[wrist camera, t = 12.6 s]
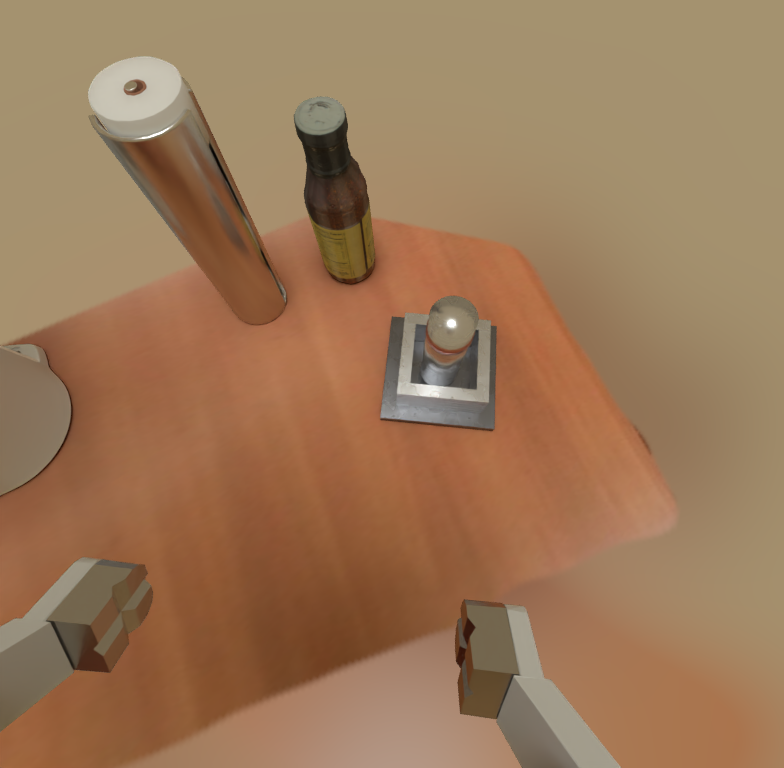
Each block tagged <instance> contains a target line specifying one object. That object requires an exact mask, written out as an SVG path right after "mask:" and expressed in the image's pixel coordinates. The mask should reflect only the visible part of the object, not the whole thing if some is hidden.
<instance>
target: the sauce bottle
mask: <svg viewBox="0 0 784 768" xmlns="http://www.w3.org/2000/svg"><path fill="white" fill-rule="evenodd" d="M294 122H295V127H296V131H297V135H298V137H299V139H300V140H301V142H302V144H303V148H304V151H305V155H306V163H307V172H306V184H305V189H304V199H305V204H306V208H307V211H308V214H309V217H310V220H311V223H312V226H313V230H314V233H315V236H316V239H317V242H318V246H319V249H320V252H321V255H322V258H323V262H324V264H325V266H326V268H327V269H328V271H329V273H330V274H331V276H332V277H333V278H335V279H337V280H339V281H341V282H344V283H348V284H353V283H356V282H359V281H361V280H363V279H365V278H367V277H368V276H369V275H370V274H371V272H372V270H373V266H374V261H375V249H374V240H373V232H372V223H371V213H370V204H369V197H368V194H367V185H366V180H365V178H364V176H363V174H362V173H361V171H360V168H359V165H358V163H357V162H356V161H355V160H354V159H353V158H352V156H351V155H350V151H349V148H348V143H347V136H346V134H347V129H348V123H347V118H346V113H345V111H344V108H343V106H342V105H341V104H340V103H339V102H338V101H337V100H335V99H333V98H329V97H316V98H311V99H308V100H306V101H303V102H302V103H301V104H300V105H299V106H298V108H297V109H296V112H295V114H294Z"/></svg>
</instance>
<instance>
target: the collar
mask: <svg viewBox="0 0 784 768" xmlns="http://www.w3.org/2000/svg"><path fill="white" fill-rule="evenodd" d="M428 319H429V315H425V314H414V313H405V318H401V317H392V321H391V330H390V338H389V347H388V356H387V364H386V373H385V382H384V390H383V399H382V408H381V416H380V419H381V420H388V421H398V422H408V423H418V424H428V425H438V426H447V427H457V428H467V429H477V430H487V431H493V430H494V424H495V375H496V327H497V326H491V321H490V320H480V319H479V320H478V325H477V328H476V330H475V335H474V338H473V340H472V342H471V344H470V346H469V347H468V349H467V351H466V354H465V356H464V358H463V361H462V363H461V366H460V368H459V370H458V373H457V375H456V377H455V379H454V381H453V382H452V383H451V384H449V385H447V386H445V387H444V386H434V385H429V384H428V383H426V382H425V381H424V379H423V378H422V375H421V371H420V369H421V362H422V356H423V350H424V344H425V338H426V335H425V332H426V325H427V321H428Z"/></svg>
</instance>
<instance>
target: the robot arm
mask: <svg viewBox="0 0 784 768" xmlns="http://www.w3.org/2000/svg"><path fill="white" fill-rule="evenodd" d="M70 418H71V403H70V398H69V394H68V391H67V389H66V387H65V385H64V384H63V382H62V381H61V380H60V379H59V378H58V377H57V376H56V375H55V374H54V373H53V372H52V371H51V369H50V368H49V366H48V361H47V357H46V354H45V352H44V350H43V349H42V348H41V347H38V346H36V345H33V344H20V345H8V346H0V496H1V495H2V494H4V493H7V492H9V491H11V490H13V489H15V488H17V487H19V486H21V485H23V484H24V483H26V482H27V481H29V480H30V479H32V478H33V477H34V476H36V475H37V474H38V473H39V472H40V471H41V470H42V469H43V468H44V467H45V466H46V465H47V464H48V463H49V462H50V461H51V460H52V458H53V457H54V456H55V454H56V453H57V451H58V450H59V448H60V446H61V445H62V443H63V441H64V439H65V436H66V434H67V431H68V428H69V424H70ZM147 574H148V573H147V570H146V567H145V565H143V564H135V563H127V562H119V561H111V560H104V559H96V558H87V557H82V558H81V559H79V560H77V561H76V562H74V563H73V564H72V565H71V566H70V567H69V568H68V570H67V571H66V572H65V573H64V574H63V575H62V576H61V577H60V578H59V579H58V580H57V581H56V582H55V584H54V585H53V586H52V587H51V588H50V589H49V590H48V591H47V592H46V593H45V594H44V595H43V596H42V597H41V599H40V600H39V601H38V602H37V603H36V604H35V605H34V606H33V607H32V608H31V609H30V610H29V611H28V613H27V614H26V615H25V616H24V617H23V618H15V619H13V620H11V621H10V622H8V623H6V624H4V625H2V626H1V627H0V732H1V731H2V730H3V729H4V728H6V727H7V726H8V725H9V724H11V723H12V722H13V721H14V720H16V719H17V718H18V717H19V716H21V715H22V714H23V713H24V712H25V711H27V710H28V709H29V708H30V707H32V706H33V705H34V704H35V703H37V702H38V701H39V700H40V699H42V698H43V697H44V696H45V695H47V694H48V693H49V692H50V691H51V690H53V689H54V688H55V687H56V686H58V685H59V684H60V683H61V682H63V681H64V680H65V679H66V678H68V677H69V676H70V675H71V674H73V673H74V670H83V671H95V672H106V673H110V672H111V671H112V669H113V668H114V666H115V664H116V663H117V661H118V660H119V658H120V657H121V655H122V654H123V652H124V650H125V649H126V647H127V646H128V644H129V633H130V632H132V631H133V630H135V629H136V628H138V627H139V626H140V625H141V624H142V622H143V621H144V619H145V617H146V616H147V614H148V612H149V609H150V606H151V603H152V598H153V591H152V587H151V585H150V584H149V583H148V582H147V581H146V580H144V578H145V577H146V575H147ZM455 652H456V662H457V664H458V665H459V667H460V668H461V670H460V675H459V679H458V693H459V705H460V714H464V715H471V716H479V717H485V718H491V719H497V724H498V725H499V727H500V729H501V731H502V733H503V734H504V736H505V738H506V740H507V742H508V743H509V745H510V747H511V749H512V751H513V752H514V754H515V756H516V758H517V759H518V761H519V763H520V765H521V767H522V768H621V767H620V766H619V764H618V763H617V762H616V761H615V760H614V758H613V757H612V756H611V754H610V753H609V752H608V751H607V749H606V748H605V747H604V746H603V744H602V743H601V742H600V741H599V739H598V738H597V737H596V736H595V734H594V733H593V732H592V730H591V729H590V728H589V727H588V726H587V724H586V723H585V722H584V720H583V719H582V718H581V717H580V715H579V714H578V713H577V712H576V710H575V709H574V708H573V707H572V705H571V704H570V703H569V702H568V700H567V699H566V698H565V697H564V695H563V694H562V693H561V692H560V690H559V689H558V688H557V686H556V685H555V684H554V683H553V682H552V680H551V679H545V678H544V674H543V671H542V667H541V663H540V660H539V655H538V651H537V648H536V644H535V640H534V636H533V632H532V629H531V624H530V620H529V617H528V613H527V610H526V609H525V607H524V606H520V605H509V604H502V603H496V602H485V601H474V600H463V602H462V605H461V618H460V619H458V621H457V626H456V635H455Z"/></svg>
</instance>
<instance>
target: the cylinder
mask: <svg viewBox="0 0 784 768" xmlns="http://www.w3.org/2000/svg"><path fill="white" fill-rule="evenodd" d="M478 320H479V317H478V312H477V310H476V308H475V307H474V305H473V304H472V303H471V302H470V301H468V300H467V299H465V298H462V297H459V296H447V297H444V298H441V299H440V300H438V301H437V302H436V303H435V304H434V305H433V306H432V308H431V310H430V314H429V319H428V321H427V325H426V332H425V335H426V338H425V344H424V350H423V356H422V362H421V369H420V371H421V375H422V378H423V379H424V381H425V382H426V383H428V384H429V385H434V386H444V387H445V386H447V385H449V384H451V383H452V382H453V381H454V379H455V377H456V375H457V373H458V370H459V368H460V366H461V363H462V361H463V358H464V356H465V354H466V351H467V349H468V347H469V346H470V344H471V342H472V340H473V338H474V335H475V330H476V328H477V325H478Z"/></svg>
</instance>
